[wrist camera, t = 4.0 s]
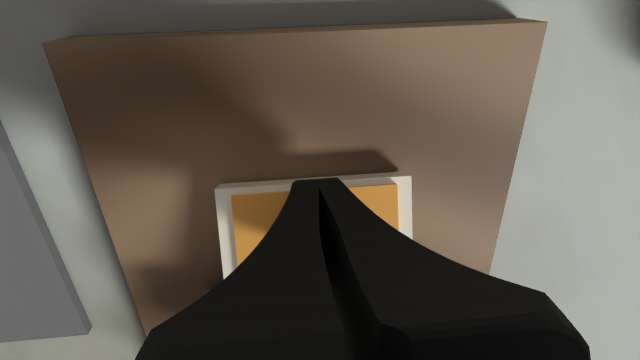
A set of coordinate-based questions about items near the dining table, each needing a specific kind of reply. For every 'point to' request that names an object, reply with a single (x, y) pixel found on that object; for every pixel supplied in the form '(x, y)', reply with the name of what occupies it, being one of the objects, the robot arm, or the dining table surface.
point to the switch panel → (293, 131)
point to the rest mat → (31, 265)
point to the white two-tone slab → (269, 197)
